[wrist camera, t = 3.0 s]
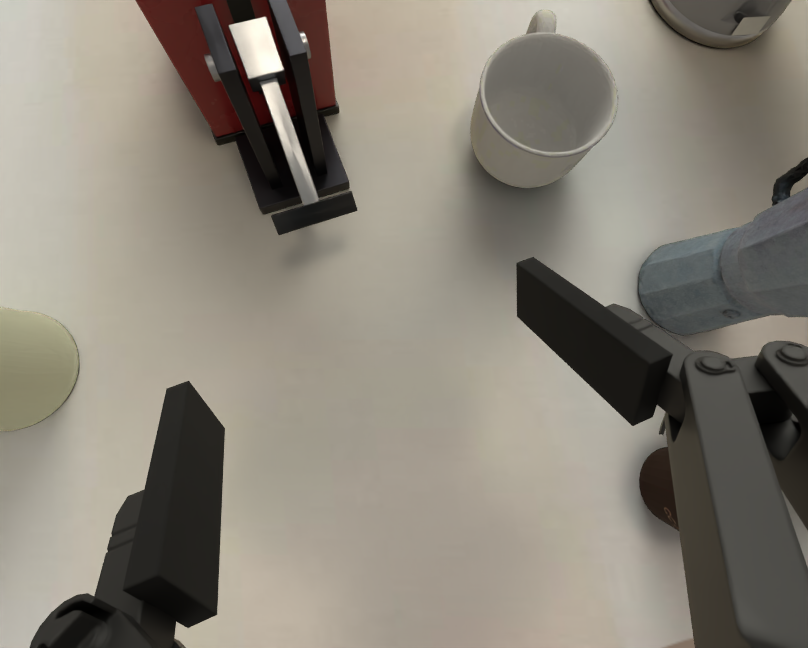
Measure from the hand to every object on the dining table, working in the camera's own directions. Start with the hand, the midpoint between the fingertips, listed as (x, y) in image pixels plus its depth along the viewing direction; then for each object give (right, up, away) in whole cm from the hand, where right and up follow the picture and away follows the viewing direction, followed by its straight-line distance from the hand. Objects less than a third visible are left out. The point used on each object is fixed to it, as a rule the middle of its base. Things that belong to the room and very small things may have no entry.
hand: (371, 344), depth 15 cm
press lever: (-6, +13, +11) cm, 18 cm away
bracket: (-9, +15, +20) cm, 26 cm away
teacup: (+12, +19, +23) cm, 32 cm away
